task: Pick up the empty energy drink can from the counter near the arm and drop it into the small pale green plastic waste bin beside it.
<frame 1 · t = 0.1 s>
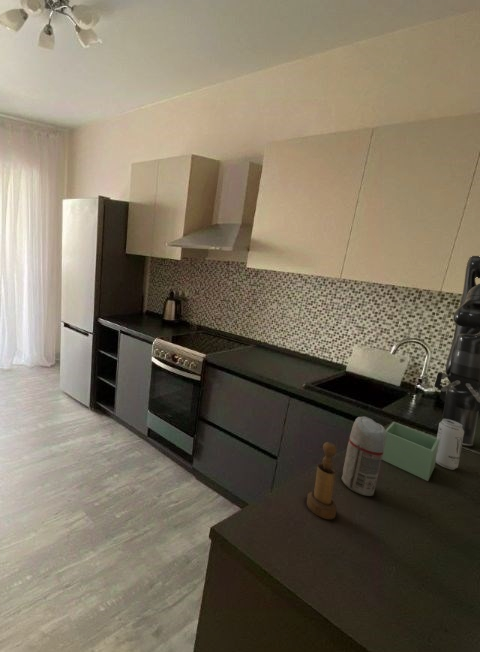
hand: (459, 406, 121), 17 cm above the counter, tool pointing down, fingers open, 8 cm apart
mortar and pestle: (320, 509, 87), on the counter
energy drink can: (444, 465, 113), on the counter
waste bin: (406, 463, 111), on the counter
spray can: (357, 487, 97), on the counter
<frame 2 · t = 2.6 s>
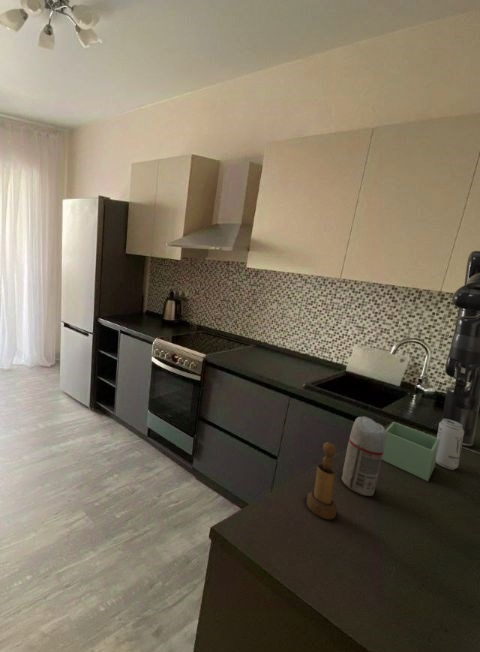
hand: (458, 393, 113), 24 cm above the counter, tool pointing down, fingers open, 8 cm apart
nothing on the counter moved.
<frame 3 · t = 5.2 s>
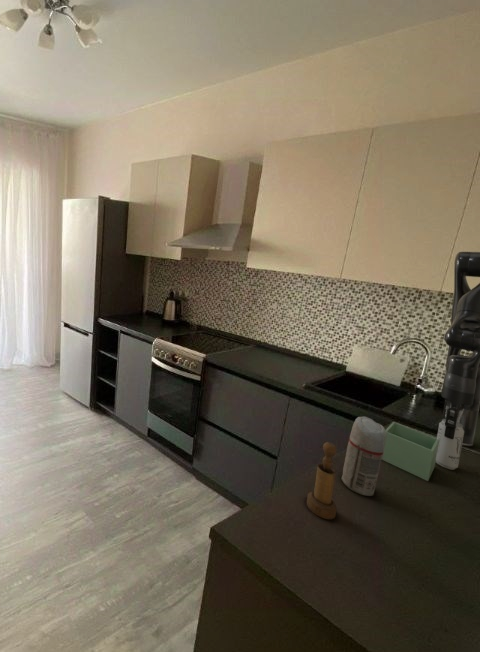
hand: (450, 434, 112), 11 cm above the counter, tool pointing down, fingers closed on energy drink can, 6 cm apart
energy drink can: (444, 465, 113), on the counter, touching gripper
everything else where it was.
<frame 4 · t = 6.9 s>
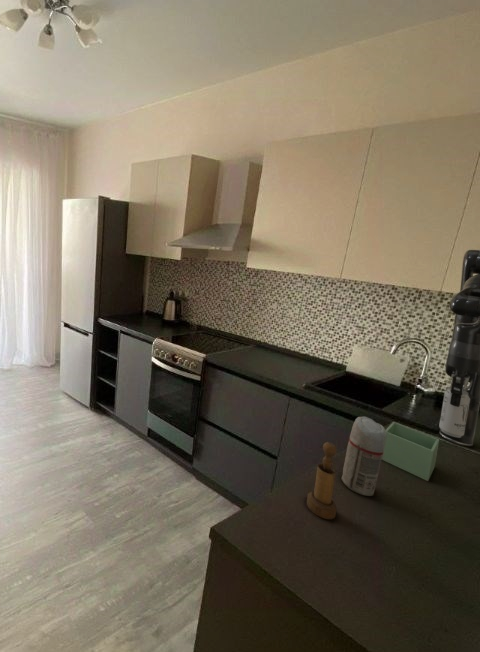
hand: (455, 403, 111), 22 cm above the counter, tool pointing down, fingers closed on energy drink can, 6 cm apart
energy drink can: (450, 433, 112), point 11 cm above the counter, touching gripper
everything else where it was.
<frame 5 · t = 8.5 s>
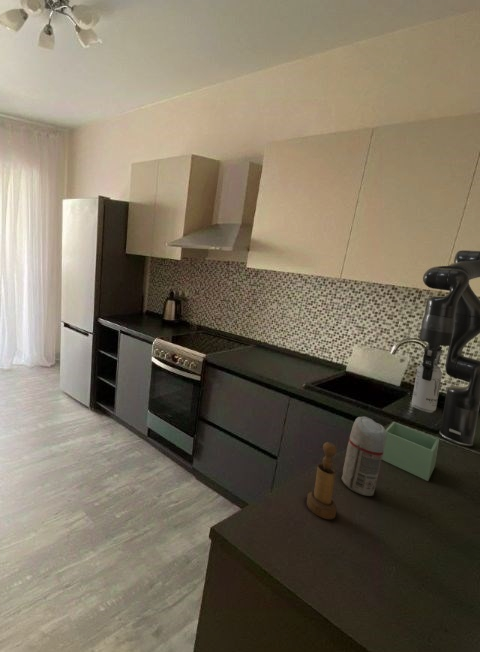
hand: (428, 377, 110), 30 cm above the counter, tool pointing down, fingers closed on energy drink can, 6 cm apart
energy drink can: (422, 409, 110), point 19 cm above the counter, touching gripper
everything else where it was.
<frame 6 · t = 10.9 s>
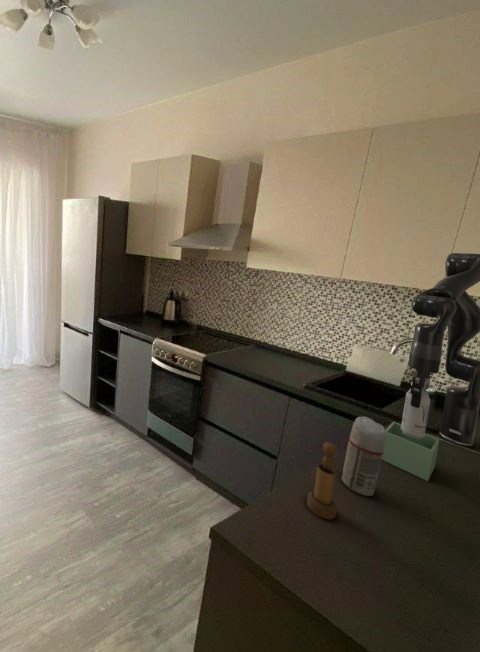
hand: (416, 404, 110), 21 cm above the counter, tool pointing down, fingers closed on energy drink can, 6 cm apart
energy drink can: (411, 435, 111), point 10 cm above the counter, touching gripper
everything else where it was.
when the fingers open (18 cm above the counter, at t = 12.1 s): energy drink can drops 7 cm, resting on waste bin.
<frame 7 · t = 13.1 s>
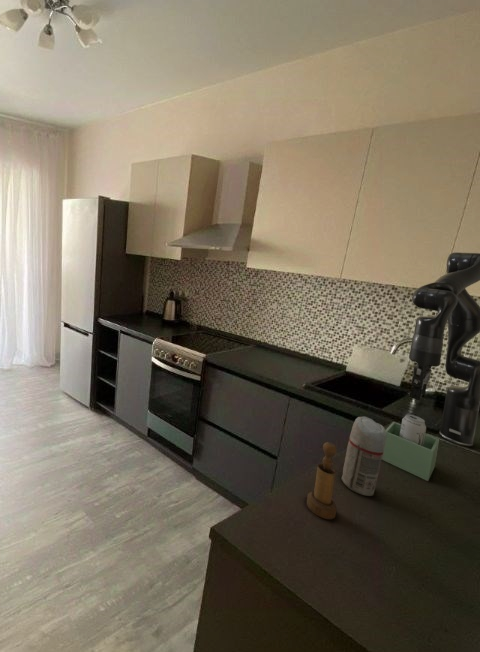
hand: (418, 396, 110), 23 cm above the counter, tool pointing down, fingers open, 8 cm apart
energy drink can: (407, 461, 111), point 1 cm above the counter, touching waste bin
everything else where it was.
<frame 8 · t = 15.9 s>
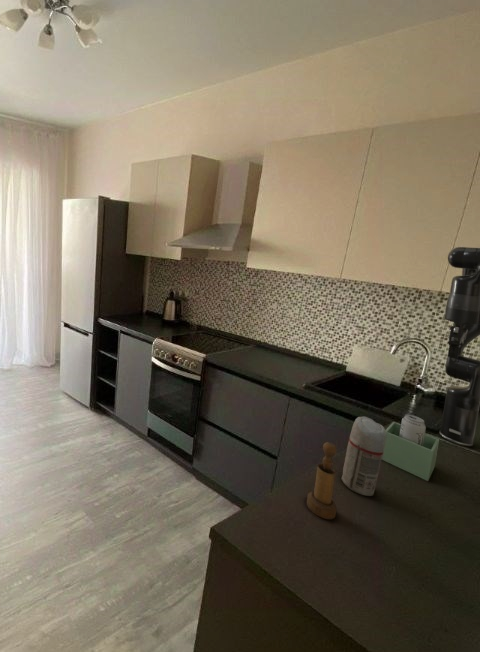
hand: (454, 356, 109), 38 cm above the counter, tool pointing down, fingers open, 8 cm apart
nothing on the counter moved.
at the end: energy drink can inside the target area in the waste bin (0.0 cm from its centre), point 0.6 cm above the waste bin's base; the gripper is holding nothing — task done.
